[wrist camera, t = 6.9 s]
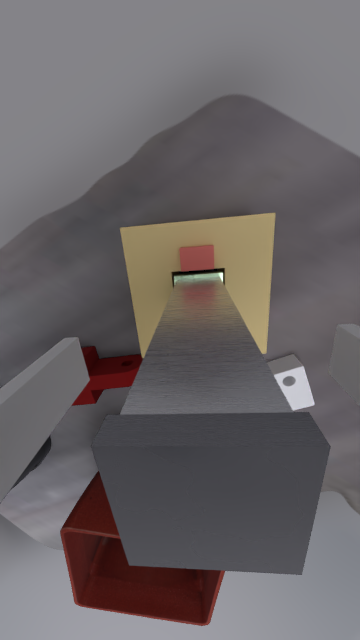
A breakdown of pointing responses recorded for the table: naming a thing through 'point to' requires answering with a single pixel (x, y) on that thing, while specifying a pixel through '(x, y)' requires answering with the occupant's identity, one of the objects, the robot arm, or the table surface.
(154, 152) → the table surface
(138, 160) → the table surface
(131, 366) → the mechanical linkage
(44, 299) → the table surface
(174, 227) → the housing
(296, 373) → the bracket
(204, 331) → the column
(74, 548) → the plant pot
